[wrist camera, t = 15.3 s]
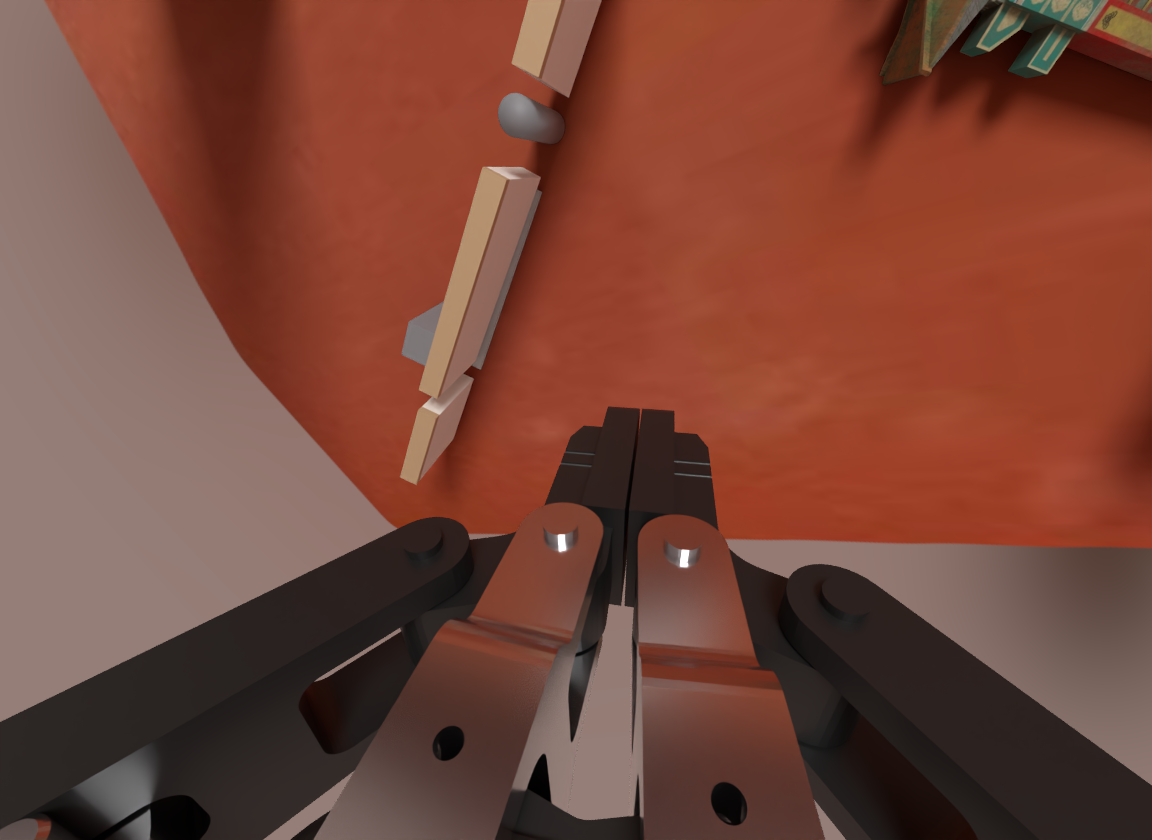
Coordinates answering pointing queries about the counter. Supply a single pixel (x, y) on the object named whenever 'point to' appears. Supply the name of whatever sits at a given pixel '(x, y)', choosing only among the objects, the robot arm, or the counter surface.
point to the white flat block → (478, 272)
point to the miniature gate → (1034, 4)
